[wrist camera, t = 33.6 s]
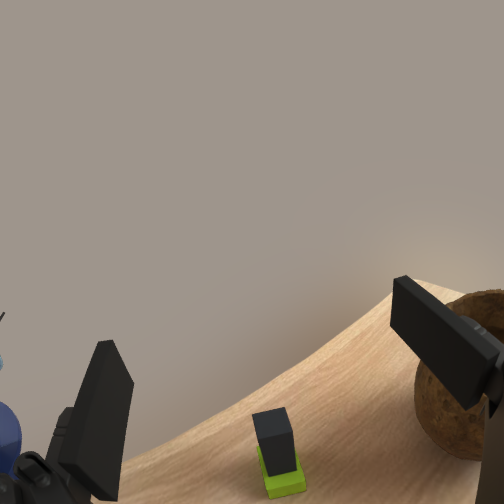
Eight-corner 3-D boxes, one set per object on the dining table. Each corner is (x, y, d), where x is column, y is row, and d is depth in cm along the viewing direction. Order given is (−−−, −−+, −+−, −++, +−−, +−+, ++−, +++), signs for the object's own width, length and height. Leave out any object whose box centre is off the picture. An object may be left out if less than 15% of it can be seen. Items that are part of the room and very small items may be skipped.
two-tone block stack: (306, 490, 25) (303, 442, 21) (269, 499, 25) (254, 454, 21) (293, 450, 31) (286, 393, 27) (259, 458, 30) (243, 403, 26)
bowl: (481, 516, 15) (557, 441, 9) (371, 434, 30) (387, 343, 25) (545, 408, 22) (589, 318, 17) (452, 358, 38) (472, 271, 32)
